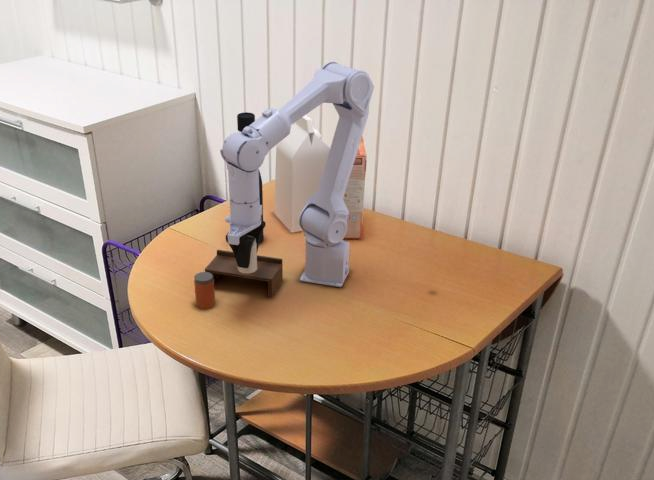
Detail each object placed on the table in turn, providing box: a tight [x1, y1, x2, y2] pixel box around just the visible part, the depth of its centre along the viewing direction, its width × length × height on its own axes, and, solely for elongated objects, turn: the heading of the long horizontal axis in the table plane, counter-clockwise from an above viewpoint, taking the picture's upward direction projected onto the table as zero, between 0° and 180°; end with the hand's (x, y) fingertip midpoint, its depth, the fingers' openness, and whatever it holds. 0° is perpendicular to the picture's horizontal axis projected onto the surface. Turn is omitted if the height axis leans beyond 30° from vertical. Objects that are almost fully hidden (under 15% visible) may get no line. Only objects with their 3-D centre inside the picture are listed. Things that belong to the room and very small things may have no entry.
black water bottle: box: [236, 111, 265, 245], centre depth 169 cm, size 6×6×30 cm
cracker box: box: [343, 135, 368, 239], centre depth 178 cm, size 14×6×21 cm, turn 179°
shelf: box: [204, 249, 284, 299], centre depth 159 cm, size 15×8×6 cm, turn 73°
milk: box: [273, 114, 331, 233], centre depth 180 cm, size 12×12×26 cm
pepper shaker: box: [193, 271, 216, 310], centre depth 152 cm, size 4×4×6 cm
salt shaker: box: [237, 236, 258, 273], centre depth 148 cm, size 4×4×6 cm
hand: (247, 261), depth 149 cm, fingers closed on salt shaker, 4 cm apart
